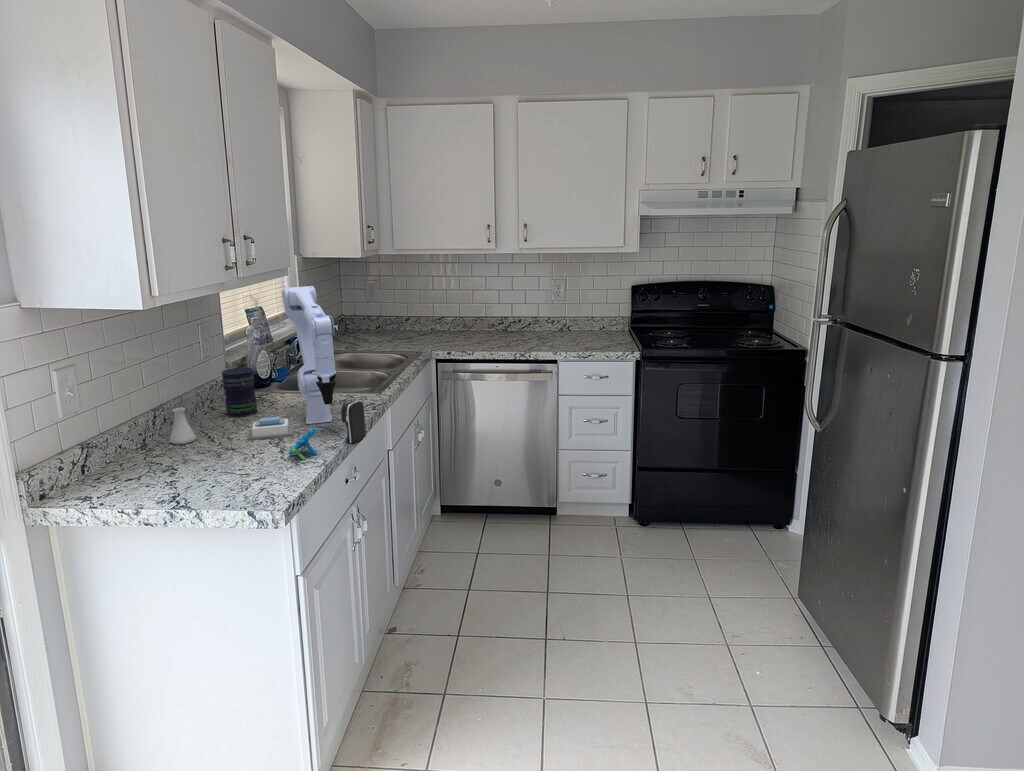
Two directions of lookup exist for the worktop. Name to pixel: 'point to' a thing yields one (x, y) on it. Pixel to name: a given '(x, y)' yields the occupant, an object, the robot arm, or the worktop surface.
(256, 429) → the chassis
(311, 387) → the robot arm
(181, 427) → the flask
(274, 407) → the worktop surface
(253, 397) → the storage jar
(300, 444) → the gear
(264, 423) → the block
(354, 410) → the battery charger
